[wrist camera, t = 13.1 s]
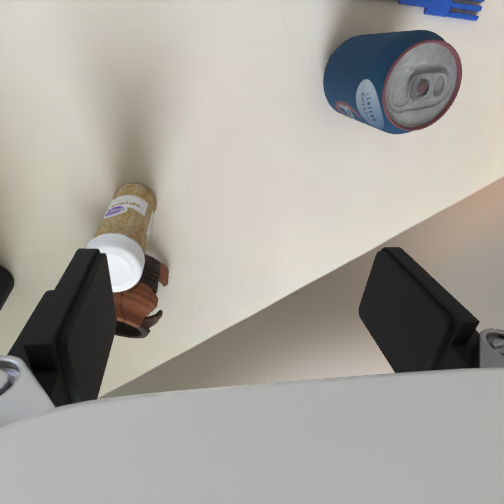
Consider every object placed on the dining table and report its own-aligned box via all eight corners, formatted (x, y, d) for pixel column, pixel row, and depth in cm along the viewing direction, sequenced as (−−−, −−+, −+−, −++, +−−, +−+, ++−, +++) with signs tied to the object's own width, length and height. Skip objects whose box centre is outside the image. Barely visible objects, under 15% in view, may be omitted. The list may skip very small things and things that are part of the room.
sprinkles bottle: (137, 173, 35) (112, 233, 23) (165, 206, 37) (154, 275, 26) (104, 197, 35) (63, 266, 24) (133, 228, 38) (109, 303, 26)
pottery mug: (188, 280, 43) (170, 341, 39) (135, 286, 47) (113, 342, 43) (125, 224, 35) (92, 294, 30) (66, 237, 39) (30, 300, 34)
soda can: (317, 116, 35) (370, 144, 24) (320, 38, 31) (383, 32, 21) (380, 110, 35) (456, 134, 25) (390, 33, 32) (484, 24, 22)
